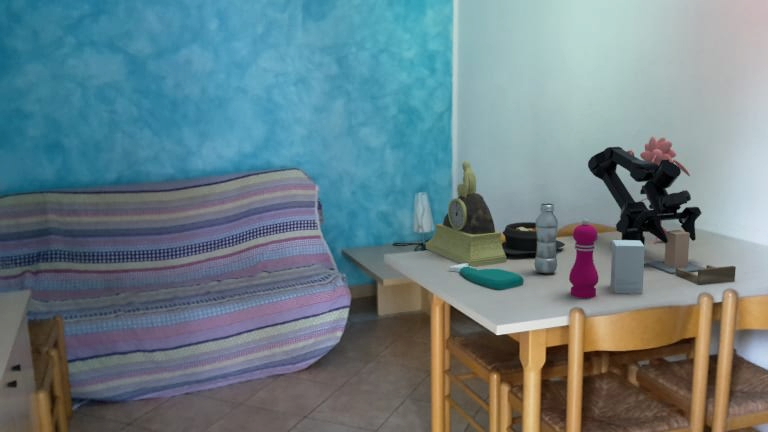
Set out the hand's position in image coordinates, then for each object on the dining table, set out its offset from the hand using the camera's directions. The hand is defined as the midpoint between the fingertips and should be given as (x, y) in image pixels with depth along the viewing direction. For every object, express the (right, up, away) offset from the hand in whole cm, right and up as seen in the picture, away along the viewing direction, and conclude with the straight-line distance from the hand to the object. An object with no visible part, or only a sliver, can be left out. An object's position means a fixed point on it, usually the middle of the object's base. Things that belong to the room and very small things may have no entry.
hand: (680, 241), depth 203 cm
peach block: (0, -7, +3) cm, 8 cm away
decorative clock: (-60, -6, +22) cm, 64 cm away
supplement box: (-22, -12, -18) cm, 30 cm away
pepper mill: (-34, -13, -22) cm, 42 cm away
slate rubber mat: (0, -8, +3) cm, 8 cm away
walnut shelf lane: (+3, -10, -9) cm, 14 cm away
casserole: (-38, -5, +25) cm, 46 cm away
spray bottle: (-57, -11, -4) cm, 59 cm away
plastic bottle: (-39, -9, 0) cm, 40 cm away
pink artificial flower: (+8, -1, +40) cm, 41 cm away
